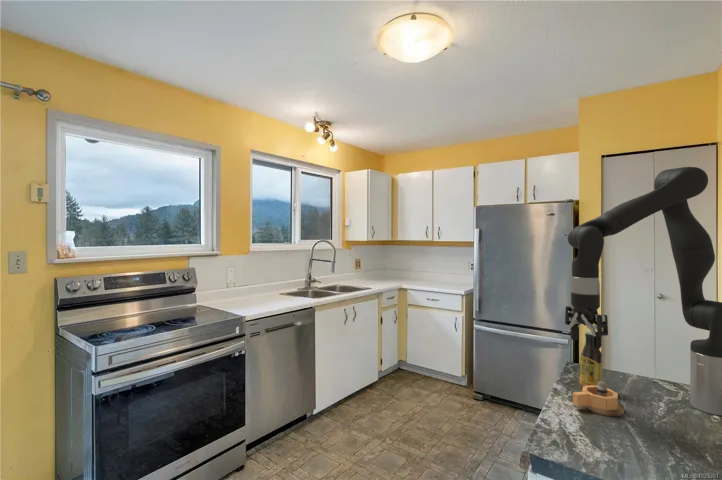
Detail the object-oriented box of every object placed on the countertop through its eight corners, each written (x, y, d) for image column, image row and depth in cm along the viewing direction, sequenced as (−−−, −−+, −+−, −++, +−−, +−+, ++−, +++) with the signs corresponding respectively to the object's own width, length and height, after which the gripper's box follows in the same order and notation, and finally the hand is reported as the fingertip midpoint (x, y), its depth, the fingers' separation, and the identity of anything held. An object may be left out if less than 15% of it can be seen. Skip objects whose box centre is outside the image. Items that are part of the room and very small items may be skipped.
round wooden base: (603, 398, 115) (603, 373, 115) (633, 414, 105) (633, 387, 105) (572, 400, 114) (573, 375, 114) (600, 417, 103) (600, 390, 103)
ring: (600, 395, 114) (600, 384, 114) (625, 408, 105) (625, 397, 105) (564, 398, 112) (564, 387, 112) (586, 412, 103) (586, 400, 103)
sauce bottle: (575, 387, 124) (575, 331, 124) (588, 384, 126) (588, 329, 125) (592, 395, 118) (592, 336, 117) (606, 392, 119) (606, 334, 119)
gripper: (616, 294, 101) (616, 350, 101) (578, 287, 115) (578, 336, 116) (592, 295, 100) (592, 352, 100) (557, 288, 114) (557, 338, 114)
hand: (585, 344), depth 108 cm, fingers open, 8 cm apart
